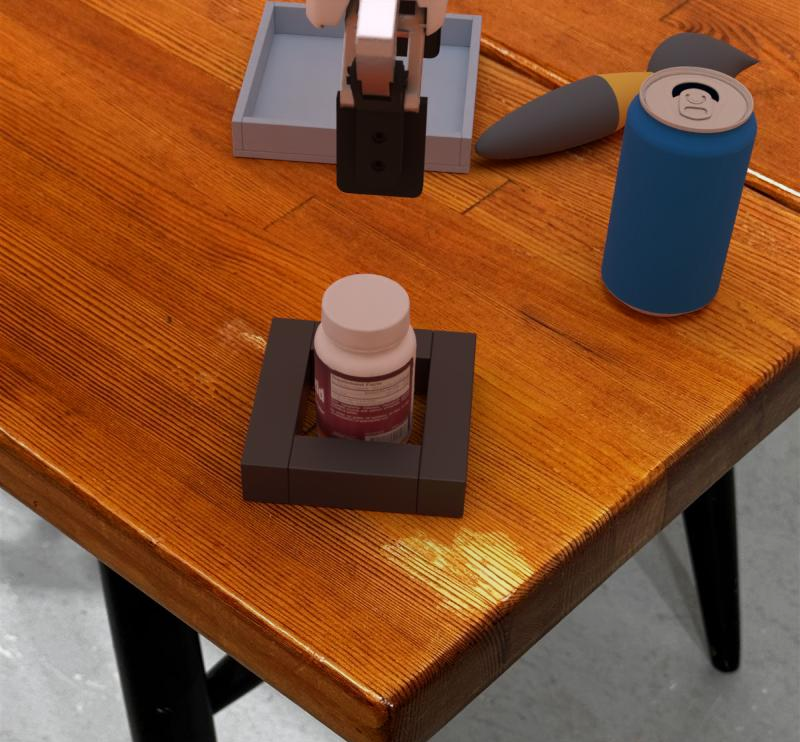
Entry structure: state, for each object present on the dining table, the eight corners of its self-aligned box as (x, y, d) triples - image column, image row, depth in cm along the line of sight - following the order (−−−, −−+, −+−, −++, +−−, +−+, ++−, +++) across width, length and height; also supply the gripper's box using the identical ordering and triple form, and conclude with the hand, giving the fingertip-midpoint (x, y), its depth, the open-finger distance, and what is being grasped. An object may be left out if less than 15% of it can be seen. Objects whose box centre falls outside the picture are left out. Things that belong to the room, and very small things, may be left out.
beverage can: (716, 257, 82) (761, 69, 73) (717, 332, 78) (765, 140, 69) (601, 245, 83) (632, 56, 74) (596, 318, 78) (628, 126, 70)
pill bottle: (325, 392, 74) (324, 261, 68) (418, 405, 73) (425, 274, 67) (306, 459, 70) (303, 327, 64) (403, 472, 70) (409, 341, 64)
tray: (233, 156, 88) (231, 120, 86) (267, 35, 97) (266, 0, 95) (469, 174, 87) (471, 138, 85) (479, 49, 97) (482, 15, 95)
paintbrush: (509, 200, 85) (516, 126, 82) (461, 157, 88) (467, 84, 85) (762, 108, 93) (779, 37, 89) (711, 71, 96) (725, 1, 92)
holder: (242, 500, 69) (240, 464, 67) (273, 353, 76) (272, 316, 74) (462, 518, 68) (466, 482, 66) (473, 369, 75) (476, 332, 73)
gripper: (318, -449, 51) (322, 2, 64) (241, -263, 39) (265, 246, 52) (532, -436, 51) (494, 14, 63) (519, -245, 39) (475, 262, 51)
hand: (391, 118), depth 57 cm, fingers open, 9 cm apart
